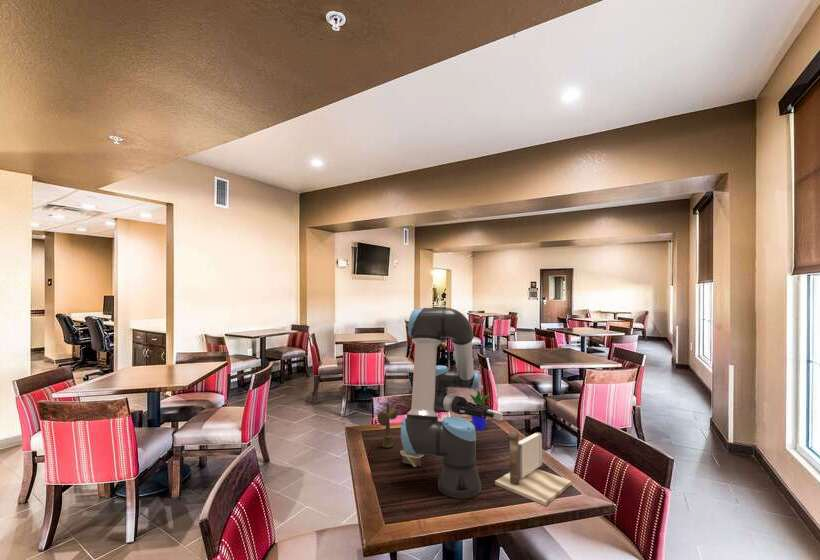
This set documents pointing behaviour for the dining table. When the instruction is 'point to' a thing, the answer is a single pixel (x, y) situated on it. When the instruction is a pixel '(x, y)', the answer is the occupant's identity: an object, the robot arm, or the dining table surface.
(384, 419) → the kendama
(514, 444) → the gate frame
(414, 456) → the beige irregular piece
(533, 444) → the gate
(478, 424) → the hyacinth
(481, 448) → the dining table surface
